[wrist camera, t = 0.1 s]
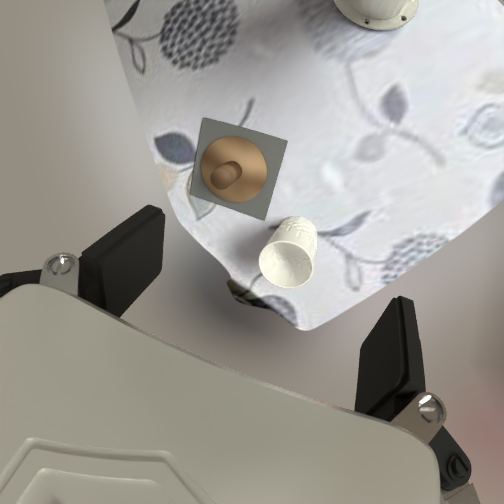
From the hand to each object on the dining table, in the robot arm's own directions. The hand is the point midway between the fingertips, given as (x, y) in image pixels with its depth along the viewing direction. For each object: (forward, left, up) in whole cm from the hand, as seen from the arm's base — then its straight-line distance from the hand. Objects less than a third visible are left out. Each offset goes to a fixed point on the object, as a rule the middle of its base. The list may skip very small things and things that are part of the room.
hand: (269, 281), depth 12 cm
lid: (+10, -13, -36) cm, 40 cm away
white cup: (+17, 0, -37) cm, 41 cm away
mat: (+10, -13, -37) cm, 40 cm away
